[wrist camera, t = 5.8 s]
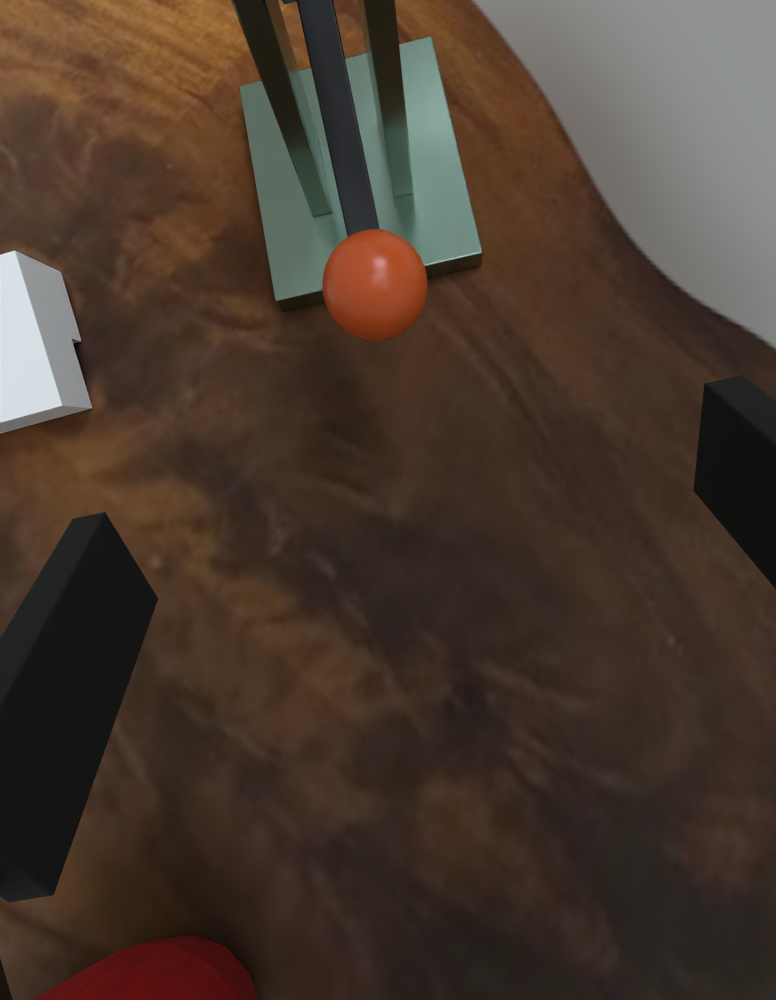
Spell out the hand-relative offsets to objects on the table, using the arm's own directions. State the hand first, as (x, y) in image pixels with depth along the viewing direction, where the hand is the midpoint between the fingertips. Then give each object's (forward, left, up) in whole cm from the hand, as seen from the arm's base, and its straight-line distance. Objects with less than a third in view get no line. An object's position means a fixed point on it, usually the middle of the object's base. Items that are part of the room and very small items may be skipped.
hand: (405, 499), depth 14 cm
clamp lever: (+8, -11, -6) cm, 15 cm away
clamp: (+11, -15, -14) cm, 24 cm away
